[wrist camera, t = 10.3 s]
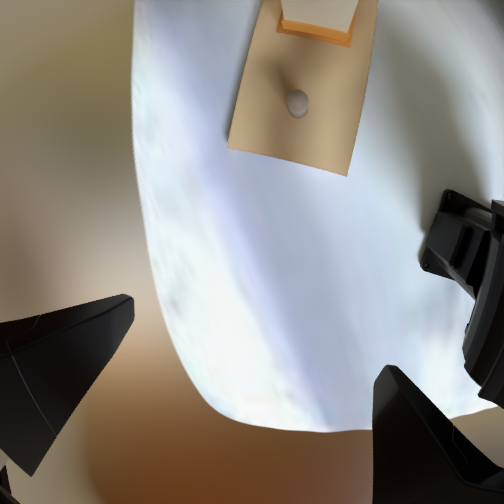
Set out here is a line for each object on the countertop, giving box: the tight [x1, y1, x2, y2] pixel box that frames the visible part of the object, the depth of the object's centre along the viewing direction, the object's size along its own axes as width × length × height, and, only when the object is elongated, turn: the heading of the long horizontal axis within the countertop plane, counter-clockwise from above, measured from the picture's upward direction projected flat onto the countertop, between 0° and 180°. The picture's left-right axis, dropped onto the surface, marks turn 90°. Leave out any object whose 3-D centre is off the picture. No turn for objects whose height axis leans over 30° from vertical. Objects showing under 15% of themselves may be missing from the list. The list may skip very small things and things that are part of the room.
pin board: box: [227, 0, 378, 177], centre depth 13 cm, size 8×15×4 cm, turn 168°
